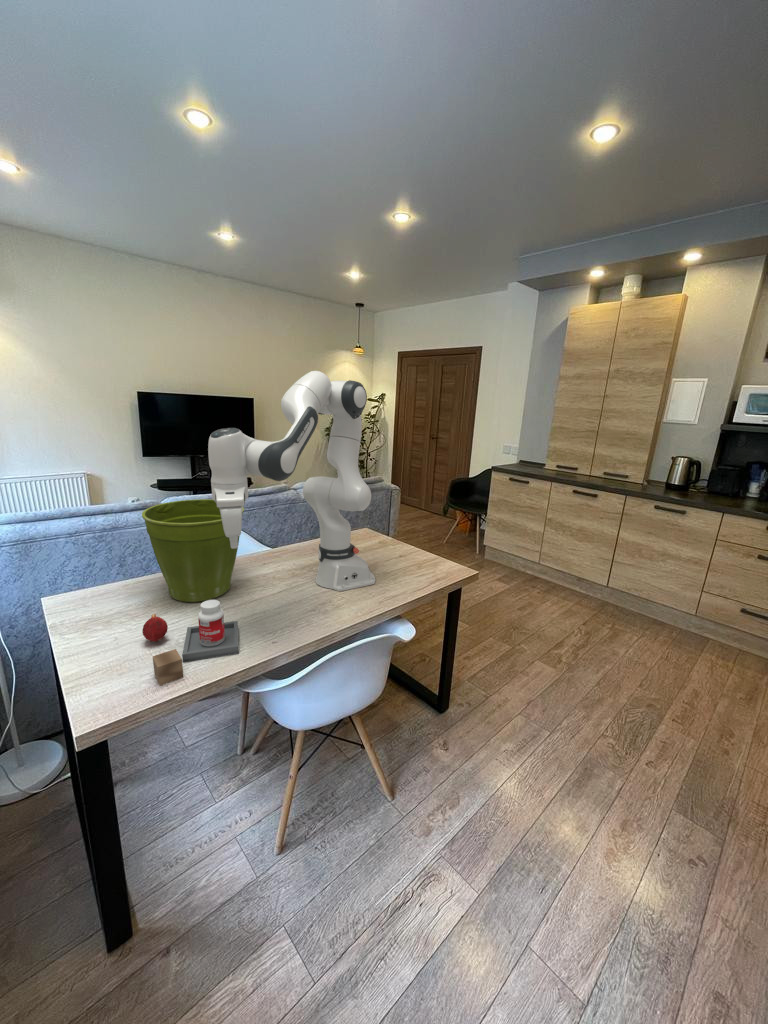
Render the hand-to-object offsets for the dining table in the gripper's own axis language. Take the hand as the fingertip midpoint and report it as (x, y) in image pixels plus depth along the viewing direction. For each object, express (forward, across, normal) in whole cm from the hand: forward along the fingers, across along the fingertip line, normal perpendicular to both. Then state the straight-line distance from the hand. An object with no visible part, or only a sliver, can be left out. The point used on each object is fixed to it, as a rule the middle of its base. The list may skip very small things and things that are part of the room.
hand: (234, 541), depth 107 cm
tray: (+26, +7, -7) cm, 28 cm away
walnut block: (+26, +18, -16) cm, 35 cm away
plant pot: (+27, -27, -12) cm, 40 cm away
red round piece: (+26, +2, -21) cm, 34 cm away
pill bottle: (+26, +7, -7) cm, 27 cm away
